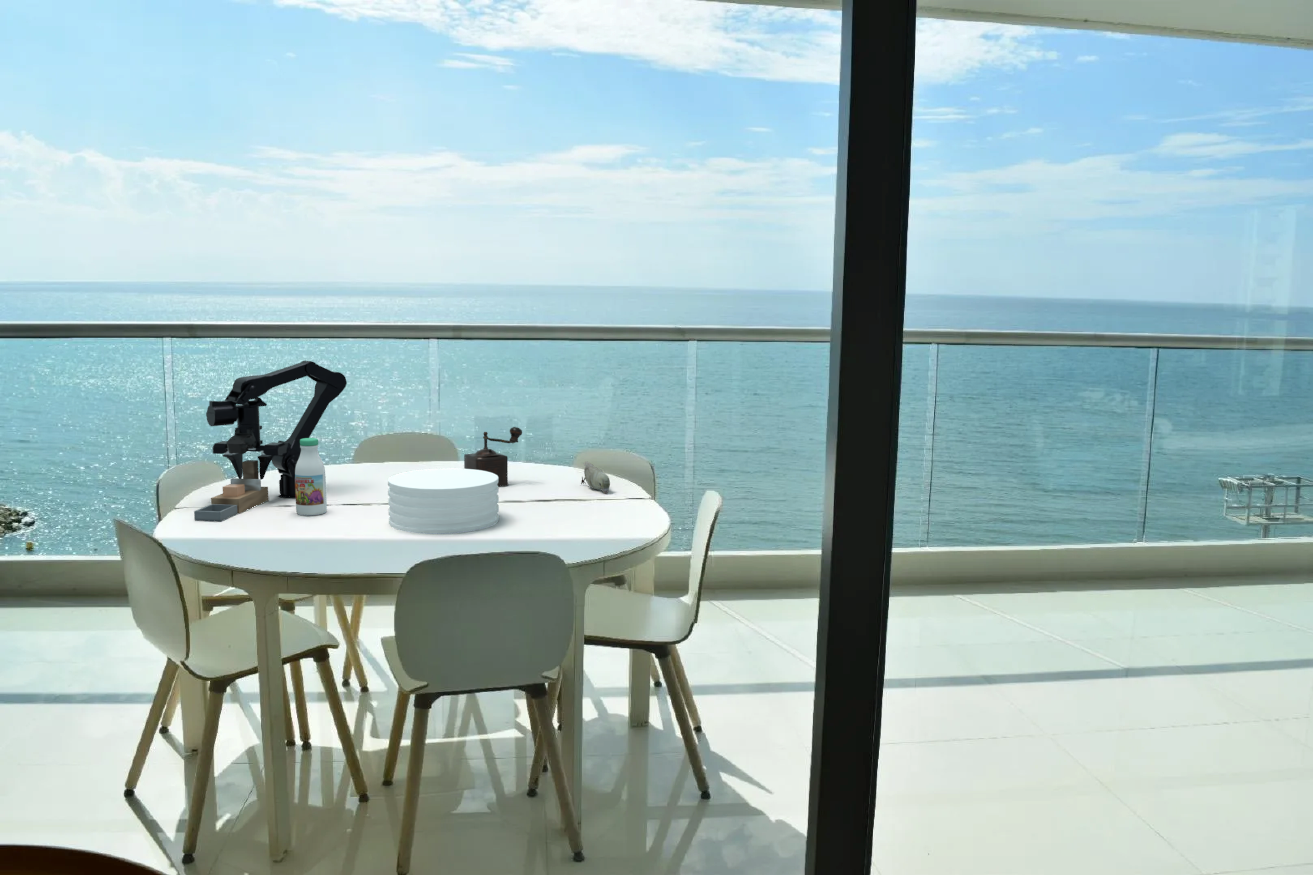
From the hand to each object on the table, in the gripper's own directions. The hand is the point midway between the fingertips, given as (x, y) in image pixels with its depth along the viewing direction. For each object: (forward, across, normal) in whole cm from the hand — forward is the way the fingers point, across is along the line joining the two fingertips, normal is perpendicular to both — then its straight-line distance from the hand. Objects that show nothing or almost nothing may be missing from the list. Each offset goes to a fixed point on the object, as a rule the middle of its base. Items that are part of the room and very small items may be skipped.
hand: (251, 478), depth 276 cm
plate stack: (+7, +59, -13) cm, 61 cm away
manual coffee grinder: (+7, +60, +36) cm, 70 cm away
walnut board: (+6, 0, -6) cm, 9 cm away
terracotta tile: (+2, 0, -10) cm, 10 cm away
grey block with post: (+3, 0, -1) cm, 3 cm away
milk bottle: (+7, +22, -10) cm, 25 cm away
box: (+6, 0, -19) cm, 20 cm away
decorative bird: (+7, +92, +33) cm, 98 cm away
